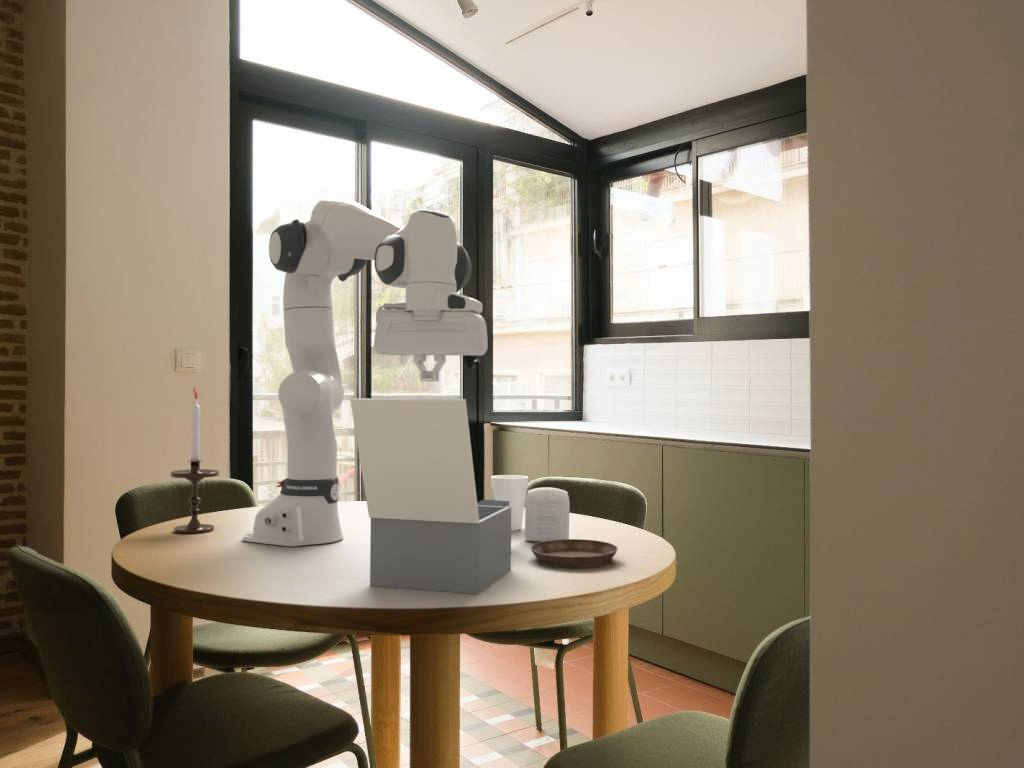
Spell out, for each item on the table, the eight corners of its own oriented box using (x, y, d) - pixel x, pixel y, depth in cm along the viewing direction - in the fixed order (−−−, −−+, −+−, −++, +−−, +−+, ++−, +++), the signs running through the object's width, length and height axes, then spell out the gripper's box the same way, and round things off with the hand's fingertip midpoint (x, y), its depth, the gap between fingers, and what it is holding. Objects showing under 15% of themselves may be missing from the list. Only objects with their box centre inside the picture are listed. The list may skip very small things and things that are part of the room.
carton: (370, 585, 138) (370, 517, 139) (414, 562, 158) (414, 502, 158) (478, 594, 133) (479, 522, 133) (510, 569, 152) (511, 506, 152)
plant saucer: (554, 574, 150) (554, 558, 150) (516, 556, 166) (516, 542, 166) (634, 566, 157) (634, 551, 157) (590, 550, 173) (590, 536, 173)
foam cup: (527, 531, 194) (528, 478, 195) (490, 531, 194) (490, 478, 195) (527, 525, 204) (527, 475, 204) (491, 525, 204) (491, 474, 204)
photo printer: (569, 540, 184) (569, 486, 184) (569, 543, 180) (569, 488, 180) (525, 539, 185) (525, 486, 185) (524, 542, 180) (524, 488, 181)
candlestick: (161, 531, 192) (163, 386, 192) (204, 525, 200) (205, 387, 201) (183, 536, 185) (185, 386, 185) (226, 530, 193) (228, 387, 194)
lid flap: (370, 515, 139) (369, 517, 138) (351, 398, 132) (350, 399, 131) (479, 521, 133) (478, 523, 133) (465, 399, 126) (464, 400, 126)
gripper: (368, 301, 138) (367, 380, 138) (480, 299, 133) (478, 381, 132) (384, 305, 144) (382, 381, 144) (491, 303, 139) (489, 382, 138)
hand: (429, 381), depth 138 cm, fingers closed
